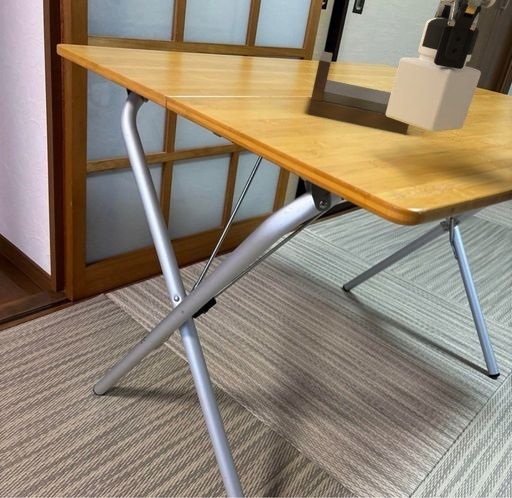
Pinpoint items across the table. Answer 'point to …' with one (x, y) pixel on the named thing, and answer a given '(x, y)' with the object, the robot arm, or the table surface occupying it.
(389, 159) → the table surface
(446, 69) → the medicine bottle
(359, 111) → the l-shaped brown block
